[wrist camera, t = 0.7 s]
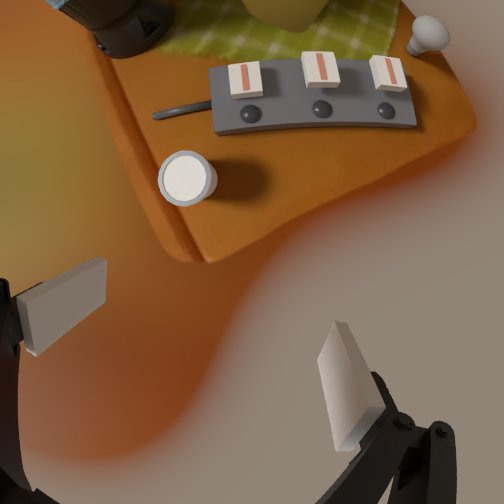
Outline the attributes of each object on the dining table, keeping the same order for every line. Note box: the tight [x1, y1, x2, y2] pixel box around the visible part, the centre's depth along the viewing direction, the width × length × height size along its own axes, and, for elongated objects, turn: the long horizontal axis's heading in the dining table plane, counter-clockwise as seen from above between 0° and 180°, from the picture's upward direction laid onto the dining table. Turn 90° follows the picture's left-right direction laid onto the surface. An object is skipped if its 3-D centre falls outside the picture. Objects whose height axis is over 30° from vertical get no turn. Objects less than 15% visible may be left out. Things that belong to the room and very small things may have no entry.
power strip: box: [152, 59, 417, 136], centre depth 33 cm, size 10×39×3 cm, turn 96°
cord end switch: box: [228, 61, 263, 99], centre depth 30 cm, size 5×4×2 cm
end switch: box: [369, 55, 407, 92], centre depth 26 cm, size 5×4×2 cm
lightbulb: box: [406, 15, 450, 56], centre depth 25 cm, size 6×6×11 cm
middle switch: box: [301, 52, 340, 88], centre depth 27 cm, size 5×4×2 cm
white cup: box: [158, 151, 218, 206], centre depth 34 cm, size 7×7×7 cm
